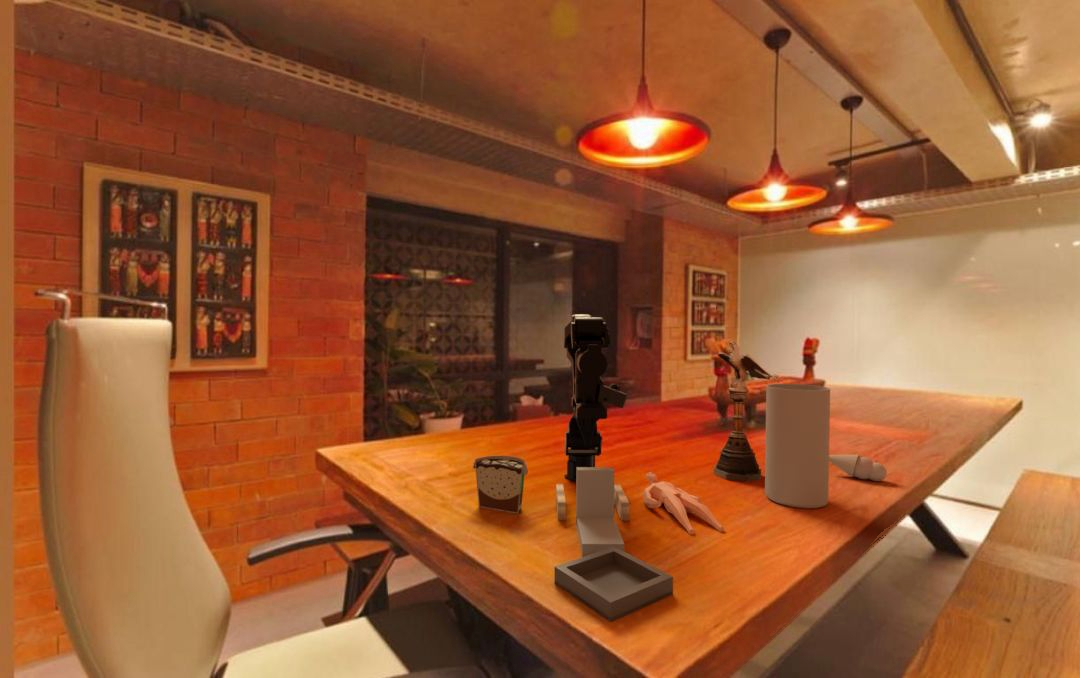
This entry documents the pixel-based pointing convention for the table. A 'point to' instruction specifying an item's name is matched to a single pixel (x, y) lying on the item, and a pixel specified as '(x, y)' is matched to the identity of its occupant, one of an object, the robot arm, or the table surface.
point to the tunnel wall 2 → (621, 502)
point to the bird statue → (740, 421)
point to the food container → (500, 482)
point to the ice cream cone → (859, 466)
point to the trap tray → (613, 582)
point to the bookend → (596, 510)
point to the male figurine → (677, 503)
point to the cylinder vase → (797, 445)
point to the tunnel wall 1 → (560, 502)
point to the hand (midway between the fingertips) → (587, 444)
